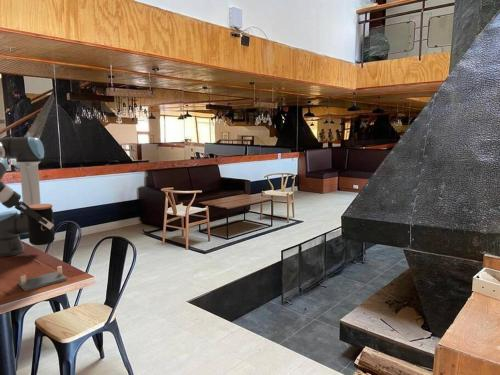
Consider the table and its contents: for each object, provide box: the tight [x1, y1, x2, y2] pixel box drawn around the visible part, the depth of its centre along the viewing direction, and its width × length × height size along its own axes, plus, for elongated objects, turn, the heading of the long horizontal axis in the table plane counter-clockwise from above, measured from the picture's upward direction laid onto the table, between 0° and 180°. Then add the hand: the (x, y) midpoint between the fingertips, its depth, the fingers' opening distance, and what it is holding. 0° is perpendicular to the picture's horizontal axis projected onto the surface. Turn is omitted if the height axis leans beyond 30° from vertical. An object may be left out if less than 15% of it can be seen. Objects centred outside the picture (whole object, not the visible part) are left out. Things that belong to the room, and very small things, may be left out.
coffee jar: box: [27, 203, 56, 246], centre depth 174 cm, size 11×11×18 cm
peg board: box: [17, 265, 68, 292], centre depth 165 cm, size 17×11×5 cm, turn 137°
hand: (47, 224), depth 176 cm, fingers closed on coffee jar, 11 cm apart
